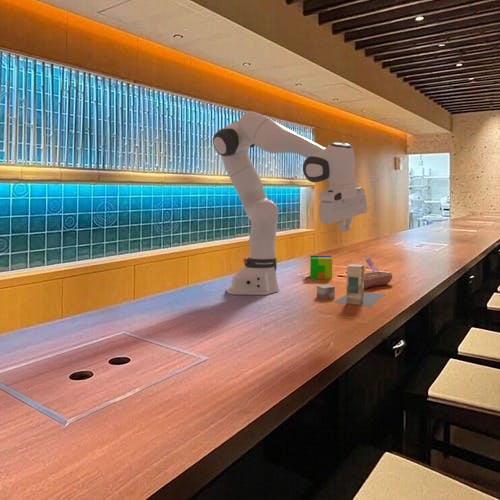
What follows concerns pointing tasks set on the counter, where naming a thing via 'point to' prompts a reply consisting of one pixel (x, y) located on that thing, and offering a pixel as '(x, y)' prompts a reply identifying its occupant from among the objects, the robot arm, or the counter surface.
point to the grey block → (325, 291)
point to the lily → (370, 264)
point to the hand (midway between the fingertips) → (345, 231)
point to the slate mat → (368, 299)
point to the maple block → (355, 284)
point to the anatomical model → (376, 279)
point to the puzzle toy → (321, 267)
